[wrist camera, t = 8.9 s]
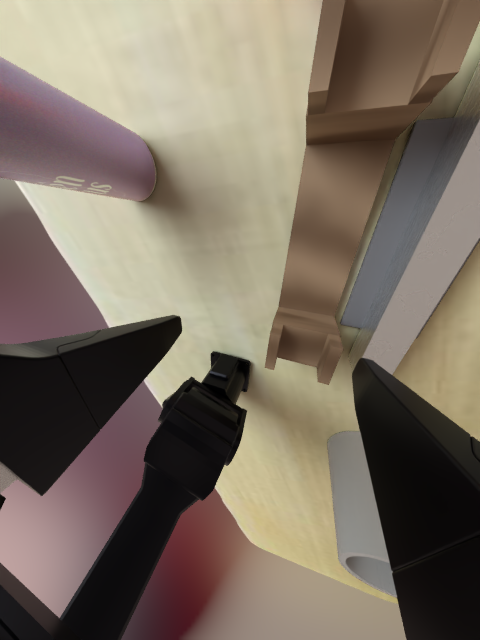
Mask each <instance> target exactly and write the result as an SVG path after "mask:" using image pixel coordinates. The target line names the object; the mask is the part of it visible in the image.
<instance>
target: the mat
mask: <svg viewBox="0 0 480 640" xmlns="http://www.w3.org/2000/svg"><path fill="white" fill-rule="evenodd" d="M453 119H454V117H452V118H440V119H428V120H417V121H416V122H415V123H414V125H413V128H412V131H411V133H410V136H409V139H408V142H407V144H406V147H405V150H404V152H403V155H402V158H401V160H400V163H399V166H398V168H397V171H396V174H395V177H394V179H393V182H392V185H391V187H390V190H389V193H388V195H387V198H386V201H385V204H384V206H383V209H382V212H381V214H380V217H379V220H378V222H377V225H376V228H375V230H374V233H373V236H372V239H371V241H370V244H369V247H368V249H367V252H366V255H365V257H364V260H363V263H362V266H361V268H360V271H359V274H358V276H357V279H356V282H355V284H354V287H353V290H352V292H351V295H350V298H349V301H348V303H347V306H346V309H345V311H344V314H343V317H342V319H341V322H340V324H341V325H346V326H351V327H357V328H361V327H362V324H363V322H364V320H365V318H366V315H367V313H368V311H369V309H370V306H371V304H372V302H373V300H374V297H375V295H376V293H377V291H378V288H379V286H380V284H381V282H382V279H383V277H384V275H385V273H386V270H387V268H388V266H389V264H390V261H391V259H392V257H393V255H394V252H395V250H396V248H397V245H398V243H399V241H400V239H401V236H402V234H403V232H404V230H405V227H406V225H407V223H408V221H409V218H410V216H411V214H412V212H413V209H414V207H415V205H416V203H417V200H418V198H419V196H420V194H421V191H422V189H423V187H424V185H425V182H426V180H427V178H428V176H429V173H430V171H431V169H432V167H433V164H434V162H435V160H436V158H437V155H438V153H439V151H440V149H441V146H442V144H443V142H444V140H445V137H446V135H447V133H448V131H449V128H450V126H451V124H452V122H453ZM479 241H480V238H479V239H478V241H477V243H476V244H475V246H474V247H473V249H472V250H471V252H470V254H469V255H468V257H467V258H466V260H465V261H464V263H463V264H462V266H461V268H460V269H459V271H458V272H457V274H456V275H455V277H454V279H453V280H452V282H451V283H450V285H449V286H448V288H447V290H446V291H445V293H444V294H443V296H442V297H441V299H440V301H439V302H438V304H437V305H436V307H435V308H434V310H433V312H434V311H435V309H436V308H437V306H438V305H439V303H440V302H441V300H442V298H443V297H444V295H445V294H446V292H447V291H448V289H449V287H450V286H451V284H452V283H453V281H454V280H455V278H456V277H457V275H458V273H459V272H460V270H461V269H462V267H463V266H464V264H465V262H466V261H467V259H468V258H469V256H470V255H471V253H472V252H473V250H474V248H475V247H476V245H477V244H478V242H479ZM433 312H432V313H431V315H430V316H429V318H428V319H427V321H426V323H427V322H428V320H429V319H430V317H431V316H432V314H433ZM426 323H425V324H424V326H425V325H426ZM424 326H423V327H422V329H421V330H420V332H419V334H420V333H421V331H422V330H423V328H424ZM419 334H418V335H417V337H418V336H419ZM417 337H416V338H417Z"/></svg>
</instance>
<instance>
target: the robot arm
mask: <svg viewBox="0 0 480 640" xmlns="http://www.w3.org/2000/svg"><path fill="white" fill-rule="evenodd" d="M181 332H182V324H181V318H180V317H179V316H175V315H171V316H166V317H161V318H156V319H151V320H146V321H141V322H136V323H131V324H126V325H121V326H116V327H112V328H107V329H102V330H97V331H92V332H86V333H82V334H76V335H71V336H65V337H59V338H53V339H47V340H41V341H35V342H29V343H22V344H0V493H1V492H2V491H4V490H5V489H6V488H7V487H8V486H9V485H11V484H12V483H13V482H14V481H15V480H17V479H18V480H19V481H21V482H22V483H24V484H25V485H27V486H28V487H29V488H31V489H32V490H34V491H35V492H36V493H38V494H39V495H41V496H43V495H44V494H45V493H46V492H47V491H48V490H49V488H50V487H51V486H52V485H53V484H54V483H55V482H56V481H57V479H58V478H59V477H60V476H61V475H62V474H63V472H64V471H65V470H66V469H67V468H68V467H69V466H70V464H71V463H72V462H73V461H74V460H75V459H76V457H77V456H78V455H79V454H80V453H81V452H82V451H83V449H84V448H85V447H86V446H87V445H88V444H89V443H90V441H91V440H92V439H93V438H94V437H95V436H96V434H97V433H98V432H99V431H100V429H102V427H103V426H104V425H105V424H106V423H107V422H108V420H109V419H110V418H111V417H112V416H113V415H114V414H115V412H116V411H117V410H118V409H119V408H120V406H121V405H122V404H123V403H124V402H125V401H126V400H127V399H128V397H129V396H130V395H131V394H132V393H133V392H134V391H135V389H136V388H137V387H138V386H139V385H140V384H141V383H142V381H143V380H144V379H145V378H146V377H147V376H148V375H149V373H150V372H151V371H152V370H153V369H154V368H155V367H156V365H157V364H158V363H159V362H160V361H161V360H162V358H163V357H164V356H165V355H166V354H167V352H168V351H169V350H170V348H171V347H172V345H173V344H174V343H175V341H176V340H177V338H178V337H179V336H180V334H181ZM246 363H247V364H246ZM249 373H250V361H248V360H244V359H241V358H237V357H233V356H229V355H226V354H222V353H218V352H214V351H213V352H212V353H211V369H210V371H209V372H208V374H207V375H206V377H205V378H204V380H203V381H202V382H201V383H200V382H198V381H197V380H195V378H193V377H191V378H190V379H189V380H186V381H185V382H184V383H183V384H182V385H181V386H180V388H179V389H178V390H177V391H176V392H175V393H173V394H172V395H171V396H170V397H168V398H167V399H166V400H165V401H164V402H163V404H162V406H163V410H162V412H161V415H160V417H159V419H158V422H160V423H161V424H160V426H159V427H158V429H157V430H156V432H155V434H154V435H153V437H152V438H151V440H150V442H149V444H148V446H147V448H146V452H145V457H144V462H145V468H144V474H143V480H142V486H141V488H140V490H139V491H138V493H137V495H136V496H135V498H134V499H133V501H132V503H131V505H130V506H129V508H128V509H127V511H126V512H125V514H124V516H123V517H122V519H121V520H120V522H119V524H118V525H117V527H116V528H115V530H114V532H113V533H112V535H111V536H110V538H109V540H108V541H107V543H106V545H105V546H104V548H103V549H102V551H101V553H100V554H99V556H98V557H97V559H96V561H95V562H94V564H93V566H92V567H91V569H90V570H89V572H88V574H87V575H86V577H85V579H84V580H83V582H82V583H81V585H80V586H79V588H78V590H77V591H76V593H75V594H74V596H73V598H72V599H71V601H70V602H69V604H68V606H67V607H66V609H65V611H64V612H63V614H62V615H61V617H60V619H59V618H58V617H57V616H56V615H55V614H54V613H53V612H52V611H51V610H50V609H49V608H48V607H47V606H46V605H45V604H44V603H42V602H41V601H40V600H39V599H38V598H37V597H36V596H35V595H34V594H33V593H32V592H31V591H30V590H29V589H27V587H25V586H24V585H23V584H22V583H21V582H20V581H19V580H18V579H17V578H16V577H15V576H14V575H13V574H11V572H9V571H8V570H7V569H6V568H5V567H4V566H3V565H2V564H1V563H0V640H121V638H122V636H123V634H124V632H125V630H126V628H127V625H128V623H129V621H130V619H131V617H132V615H133V613H134V611H135V609H136V607H137V604H138V602H139V600H140V598H141V596H142V594H143V592H144V590H145V587H146V586H147V584H148V582H149V580H150V578H151V575H152V573H153V571H154V569H155V567H156V565H157V563H158V561H159V559H160V557H161V555H162V552H163V550H164V548H165V546H166V544H167V542H168V540H169V538H170V536H171V534H172V532H173V530H174V527H175V525H176V523H177V521H178V519H179V517H180V515H181V514H182V513H183V512H184V511H185V510H187V509H188V508H189V507H190V506H191V505H193V504H194V503H195V502H196V501H197V500H199V499H200V500H204V499H205V498H206V497H207V496H208V495H209V494H210V493H211V492H212V491H213V489H214V487H215V485H216V482H217V480H218V478H219V476H220V474H221V471H222V469H223V467H224V465H226V466H228V465H229V464H230V462H231V461H232V459H233V457H234V456H235V453H236V451H237V449H238V447H239V444H240V441H241V438H242V433H243V428H244V423H245V418H246V413H247V410H245V409H244V408H243V409H242V408H241V407H239V406H237V405H236V402H237V400H238V397H239V395H240V393H241V391H243V392H247V390H248V383H249ZM352 382H353V392H354V403H355V410H356V415H357V420H358V424H359V429H360V433H361V438H362V442H363V447H364V451H365V456H366V460H367V464H368V469H369V473H370V478H371V482H372V487H373V491H374V496H375V500H376V505H377V509H378V514H379V518H380V522H381V527H382V531H383V536H384V540H385V545H386V549H387V554H388V558H389V563H390V567H391V570H392V577H393V581H394V586H395V590H396V595H397V599H398V604H399V608H400V613H401V617H402V622H403V626H404V630H405V635H406V639H407V640H480V442H479V441H478V440H477V439H475V438H474V437H470V434H469V433H467V432H466V431H465V430H463V429H462V428H461V427H459V426H458V425H457V424H456V423H454V422H453V421H452V420H450V419H449V418H448V417H446V416H445V415H444V414H442V413H441V412H440V411H438V410H437V409H436V408H435V407H433V406H432V405H431V404H429V403H428V402H427V401H425V400H424V399H423V398H421V397H420V396H419V395H417V394H416V393H415V392H414V391H412V390H411V389H410V388H408V387H407V386H406V385H404V384H403V383H402V382H400V381H399V380H398V379H396V378H395V377H394V376H393V375H391V374H390V373H389V372H387V371H386V370H385V369H383V368H382V367H381V366H379V365H378V364H377V363H375V362H374V361H373V360H371V359H366V358H360V359H359V360H358V362H357V364H356V366H355V368H354V370H353V373H352ZM5 499H6V498H5V497H3V496H2V495H1V494H0V509H1V507H2V505H3V503H4V501H5Z"/></svg>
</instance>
